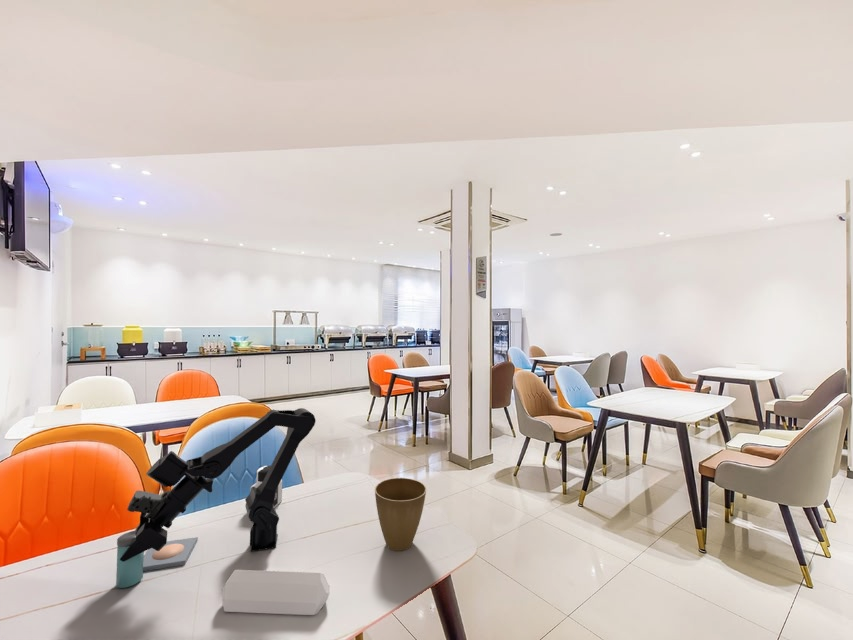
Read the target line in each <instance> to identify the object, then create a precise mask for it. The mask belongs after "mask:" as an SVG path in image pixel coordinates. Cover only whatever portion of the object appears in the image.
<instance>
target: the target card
mask: <svg viewBox="0 0 853 640" xmlns="http://www.w3.org/2000/svg"><path fill="white" fill-rule="evenodd" d="M198 538H199V537H198V536H195V537H188V538H181V539H174V540H168V541H167V543H166V544H165V545H164V546H163V548H162V549H161V550H160V551H156V550H155V549H153V548H151V549H148V550H146V551H145V552H144V560H143V572H144V571H145V572H146V571H151V570H157V569H165V568H170V567H171V568H172V567H176V566H185V565H186V564H187V563H188V560H189V558H190V557H191V554H192V552H193V550H194V548H195V547H196V544H197V543H198Z"/></svg>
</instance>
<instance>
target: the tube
mask: <svg viewBox="0 0 853 640" xmlns="http://www.w3.org/2000/svg"><path fill="white" fill-rule="evenodd" d="M135 538H136V531H135V530H131V531H128V532H125V533H123V534H121V535H120V536H119V537H117V539H116V546H117V551H116V553H117V554H116V579H115V587H116V588H120V589H123V588H124V589H125V588H128V587H131V586H133V585H136V584H137V583H138V584H139V582H140V581H142V580H143V578H144V571H143V560H144V555H145V551H144V552H142V553H140V554H138V555H136V556H134V557H132V558H130V559H128V560H126V561H124V562H122V561H121V560H120V558H121V557H122V555H123V554H124V553H125V551H126V550H127V549H128V547H129V546H130V545H131V544H132V542H133V541H134V540H135Z"/></svg>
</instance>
